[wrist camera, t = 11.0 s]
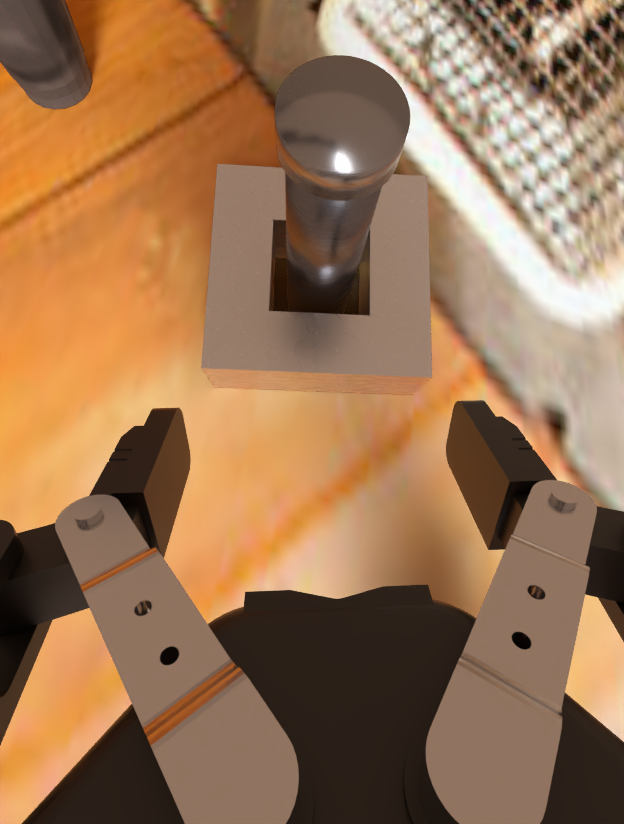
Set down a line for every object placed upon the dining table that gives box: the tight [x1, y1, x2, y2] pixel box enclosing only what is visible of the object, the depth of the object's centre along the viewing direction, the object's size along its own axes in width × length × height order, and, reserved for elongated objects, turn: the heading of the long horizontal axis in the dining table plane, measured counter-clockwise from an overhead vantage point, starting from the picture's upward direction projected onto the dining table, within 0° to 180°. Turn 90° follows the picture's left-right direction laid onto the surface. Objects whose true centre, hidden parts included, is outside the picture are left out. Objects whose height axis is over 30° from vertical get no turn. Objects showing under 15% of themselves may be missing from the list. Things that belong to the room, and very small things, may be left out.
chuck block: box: [201, 164, 432, 395], centre depth 26 cm, size 12×12×4 cm
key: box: [275, 55, 410, 314], centre depth 21 cm, size 4×4×14 cm
